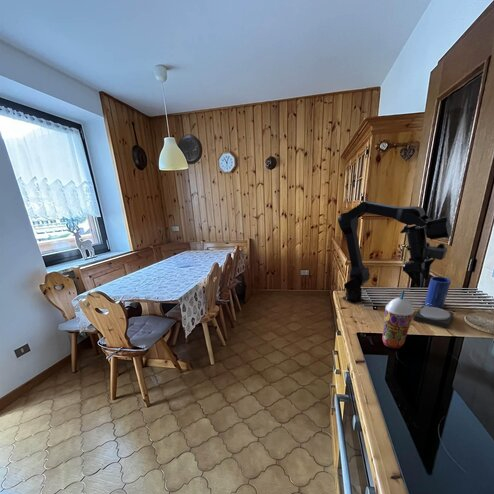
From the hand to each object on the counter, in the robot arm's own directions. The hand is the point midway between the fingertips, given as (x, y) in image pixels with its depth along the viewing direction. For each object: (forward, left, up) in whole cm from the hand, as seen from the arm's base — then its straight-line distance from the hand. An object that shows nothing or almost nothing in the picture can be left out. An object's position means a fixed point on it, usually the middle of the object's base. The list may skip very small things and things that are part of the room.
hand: (423, 282), depth 108 cm
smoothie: (+10, -24, -15) cm, 30 cm away
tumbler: (-3, +16, -14) cm, 22 cm away
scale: (+5, +4, -14) cm, 16 cm away
